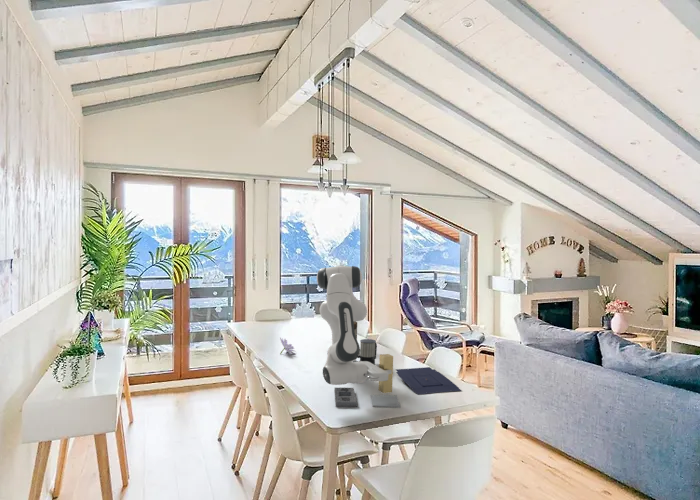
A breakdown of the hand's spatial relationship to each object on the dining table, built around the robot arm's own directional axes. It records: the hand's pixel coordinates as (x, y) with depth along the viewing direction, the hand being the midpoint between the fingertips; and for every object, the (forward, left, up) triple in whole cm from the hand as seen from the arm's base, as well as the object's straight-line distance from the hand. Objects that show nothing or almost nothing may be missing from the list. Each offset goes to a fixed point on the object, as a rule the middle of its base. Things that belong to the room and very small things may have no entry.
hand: (387, 369), depth 207 cm
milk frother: (-61, -9, -14) cm, 64 cm away
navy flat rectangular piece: (-28, +22, -15) cm, 39 cm away
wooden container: (-99, -19, -14) cm, 102 cm away
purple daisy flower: (-83, -55, -15) cm, 100 cm away
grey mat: (0, -1, -14) cm, 14 cm away
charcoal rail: (-3, -19, -14) cm, 24 cm away
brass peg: (0, -1, -9) cm, 10 cm away
